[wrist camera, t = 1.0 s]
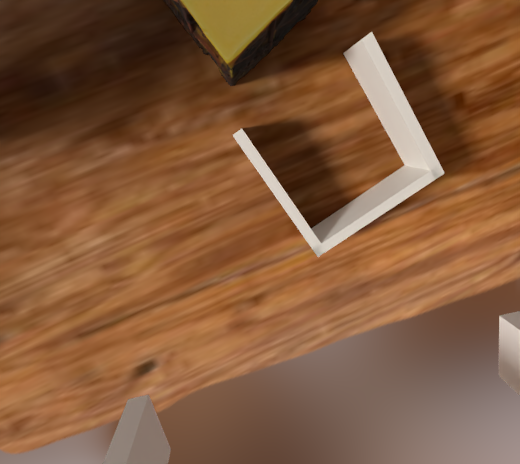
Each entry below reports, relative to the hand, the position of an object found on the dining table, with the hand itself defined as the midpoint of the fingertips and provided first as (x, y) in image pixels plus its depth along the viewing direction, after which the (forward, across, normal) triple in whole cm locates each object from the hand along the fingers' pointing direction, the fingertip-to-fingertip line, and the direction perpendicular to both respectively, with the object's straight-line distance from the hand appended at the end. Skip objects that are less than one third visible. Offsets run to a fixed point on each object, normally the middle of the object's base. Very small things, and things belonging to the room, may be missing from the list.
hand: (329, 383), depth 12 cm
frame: (+25, +7, +6) cm, 27 cm away
